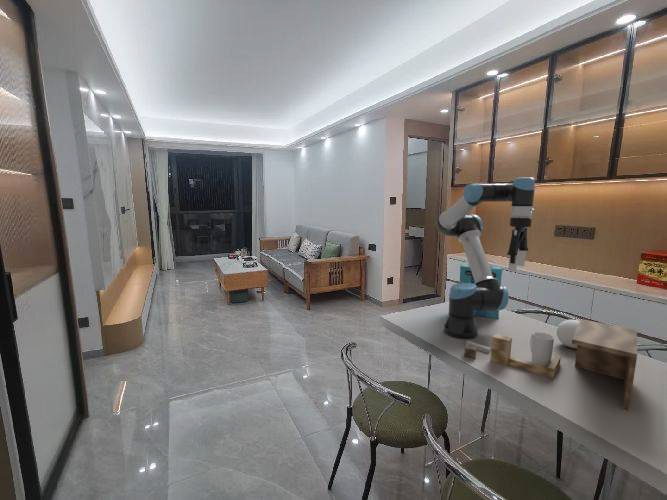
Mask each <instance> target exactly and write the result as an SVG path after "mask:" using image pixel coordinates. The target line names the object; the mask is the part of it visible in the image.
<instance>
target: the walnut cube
mask: <svg viewBox="0 0 667 500" xmlns="http://www.w3.org/2000/svg"><path fill="white" fill-rule="evenodd" d="M476 347H477V346H473V345H468V344H466V343H465V348H464V358H466V359H471V360H476V356H477V349H476Z"/></svg>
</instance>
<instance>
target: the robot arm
mask: <svg viewBox="0 0 667 500" xmlns="http://www.w3.org/2000/svg"><path fill="white" fill-rule="evenodd" d="M535 183H536V179H535V178H534V177H516V178H514V179H513V183H469V184H466V186H465V187H464V189H463V193H462V194H463V196H461V197H460V198H459V199H458V200H457V201H456V202H455V203H453V205H452V206H451V207H449V209H447V210H446V211H443V212H441V213H440V214H439V215H438V216H437V218H436V222H435V226H436V229H437V230H438V232H439V233H440V234H441V235H443V236H446V237H456V239H457V241H458V242H459V243H461V244H462V246H463V249H464V252H465V256H466V259H467V262H468V265H470V269H471V272H472V275H473V278H474V281H475V283H474V284H473V283H460V282H459V283H455V284H453V285H451V286H450V288H449V294H448V296H449V297H448V300H449V301H448V315H447V318H446V320H445V323H444V326H443V332H444V333H445V334H446V335H448V336H450V337H453V338H457V339H464V340H466V339H467V340H468V339H469V340H470V339H471V340H472V339H475V338H477V336H479V335H478V333H479V329H478V326H477V323H476V322H477V321H476V319H475V317H476V316H475V312H476V311H496V310H499V311H501V310H505V309H506V307H507V306H508V303H509V301H510V300H509V299H510V294H509V291H508V288H507V287H506V286H505V285H502V284H501V285H499V282H498V280H497V279H495V278H493V276H492V273H491V270H490V267H489V266H490V264H489V261H488V260H487V256H486V253H485V251H484V248H483V246H482V241H481V239H480V237H481V235H482V233H483V224H484V223H483V221H482V219H481V217H479V215H477V214H473V213H472V214H471V212H472V211H473V210H475V208H477V207H478V206H479V205H481V204H482V203H484V202H485V203H487V202H492V203H493V202H494V203H495V202H497V203H499V202H503V203H505V202H510V203H511V205H510V206H511V208H510V216H511V217H510V220H509V226H510V227H513V228H514V229H512V231H511V237H510V243H509V248H508V252H507V255H508V256H509V259H508V270H507V271H508V272H513V273H514V272H515V273H516V272H517V266H518V267H525V264H526V263H525V262H526V255H527V254H526V252H528V251H529V248H528V228H531V226H532V216H533V212H534V211H535V208H533V205H534V197H535V189H536V186H535V185H536V184H535Z"/></svg>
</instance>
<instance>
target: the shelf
mask: <svg viewBox="0 0 667 500" xmlns="http://www.w3.org/2000/svg"><path fill="white" fill-rule="evenodd" d="M579 321H580V322H579V324H578V327H577V329H576V332H575V334H574V337H573V339H572V344H575V345H577V348H576V353H575V361H574V367H577V368H581V369H585V370H588V371H593V372H595V373H599V374H602V375H603V374H604V375H607V376H609V377H614V378H617V379H622V380H624V386H623V388H624V389H623V411H625V412H629V410H630V404H631V398H632V397H631V396H632V393H633V392H632V391H633V384H634V378H635V371H636V367H637V360H638V359H637V358H638V329H633V328H628V327H624V326H623V327H622V326H618V325H614V324H608V323H603V322H599V321H597V322H596V321H593V320H588V319H582V318H580V319H579Z"/></svg>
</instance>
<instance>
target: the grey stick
mask: <svg viewBox="0 0 667 500" xmlns="http://www.w3.org/2000/svg"><path fill="white" fill-rule="evenodd" d="M466 344H468V345H473V346H477V347H476V351H477V350H478V351H481V352H484V353H487V354H491V348H492V347H489V346H485V345H482V344H481V343H477V342H473V341H470V340H467V341H465V345H466Z"/></svg>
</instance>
